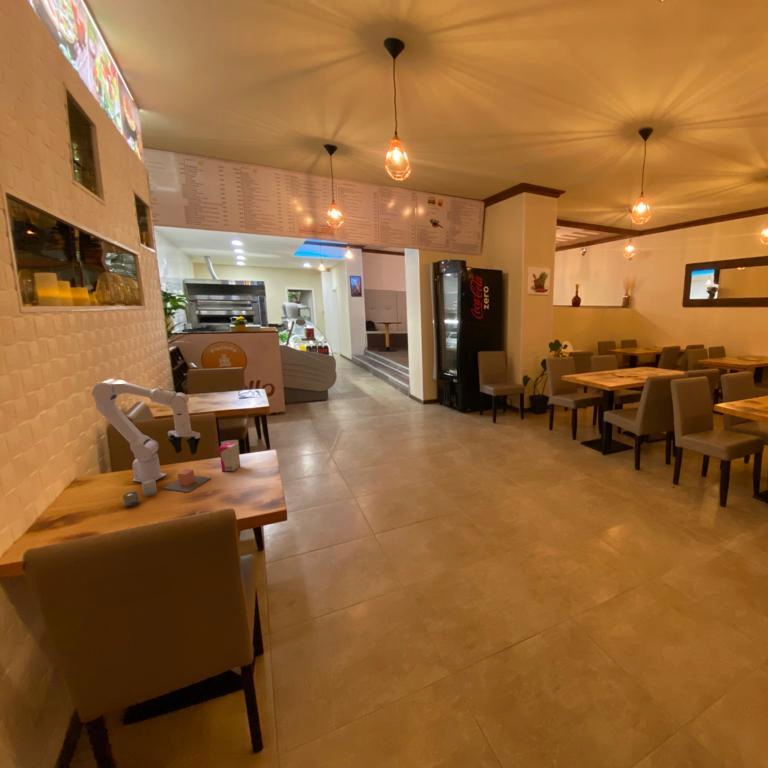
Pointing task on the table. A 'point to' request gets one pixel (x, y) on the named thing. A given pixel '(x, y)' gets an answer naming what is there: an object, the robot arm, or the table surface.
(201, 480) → the charcoal mat
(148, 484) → the grey domed cylinder
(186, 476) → the red block
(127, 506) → the metal tin
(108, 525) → the table surface
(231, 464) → the supplement box
